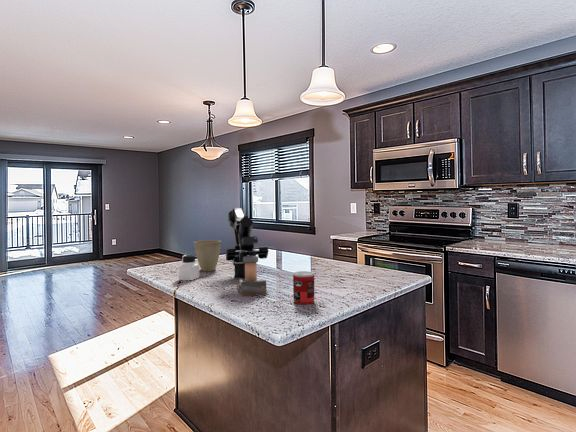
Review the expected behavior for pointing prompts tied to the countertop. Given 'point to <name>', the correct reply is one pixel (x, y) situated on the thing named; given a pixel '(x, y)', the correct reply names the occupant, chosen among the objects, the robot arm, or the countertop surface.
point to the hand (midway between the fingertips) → (249, 269)
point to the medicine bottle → (188, 268)
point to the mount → (252, 287)
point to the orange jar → (250, 267)
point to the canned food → (303, 287)
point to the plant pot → (207, 253)
